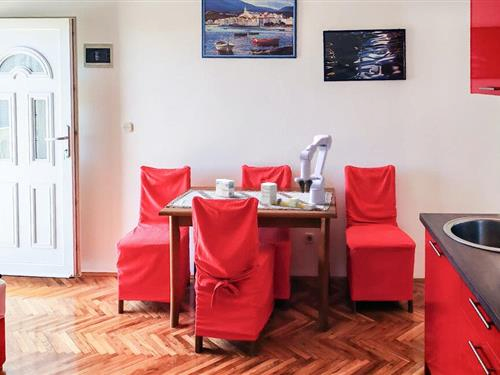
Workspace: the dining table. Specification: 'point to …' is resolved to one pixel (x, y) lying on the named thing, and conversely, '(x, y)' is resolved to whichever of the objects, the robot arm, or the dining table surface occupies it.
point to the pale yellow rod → (280, 202)
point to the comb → (310, 206)
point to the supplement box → (268, 193)
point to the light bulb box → (225, 188)
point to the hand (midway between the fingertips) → (304, 192)
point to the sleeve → (293, 202)
